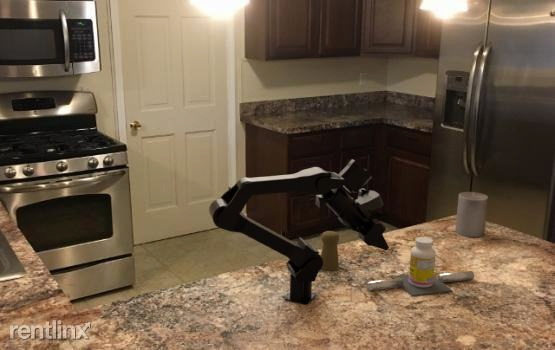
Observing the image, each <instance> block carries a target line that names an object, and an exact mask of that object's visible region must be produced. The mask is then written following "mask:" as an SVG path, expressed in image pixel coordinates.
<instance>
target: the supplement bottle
mask: <svg viewBox="0 0 555 350" xmlns="http://www.w3.org/2000/svg"><path fill="white" fill-rule="evenodd" d="M414 241H415V242H414V244H415V246H413V247H412V248H411V250H410V259H409V271H408V275H409V282H410V284H412V285H413V286H416V287H420V288H426V287H430V286H432V284H433V279H434V277H435V266H436V256H437V252H436V250H435V249H434V248H433V245H434V240H433V239H432V238H430V237H425V236H418V237H416V238H415V239H414Z"/></svg>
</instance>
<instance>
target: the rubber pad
mask: <svg viewBox="0 0 555 350" xmlns="http://www.w3.org/2000/svg"><path fill="white" fill-rule="evenodd" d="M398 278H402V279H403V282H404V285H403V287H401V288H402V289H403V290H404V291H405V292H407V293H408V294H409V295H410V296H411V297H419V296H426V295H433V294H435V295H436V294H445V293H452V292H453V290H452V289H451V288H449V286H447V285H446V284H445V283H442V282H441V281H440V280H438V277H436V276H434V279H433V284H432V286H430V287H426V288H420V287H416V286H413V285H412V284H410V282H409V274H401V275H391V279H398Z"/></svg>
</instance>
